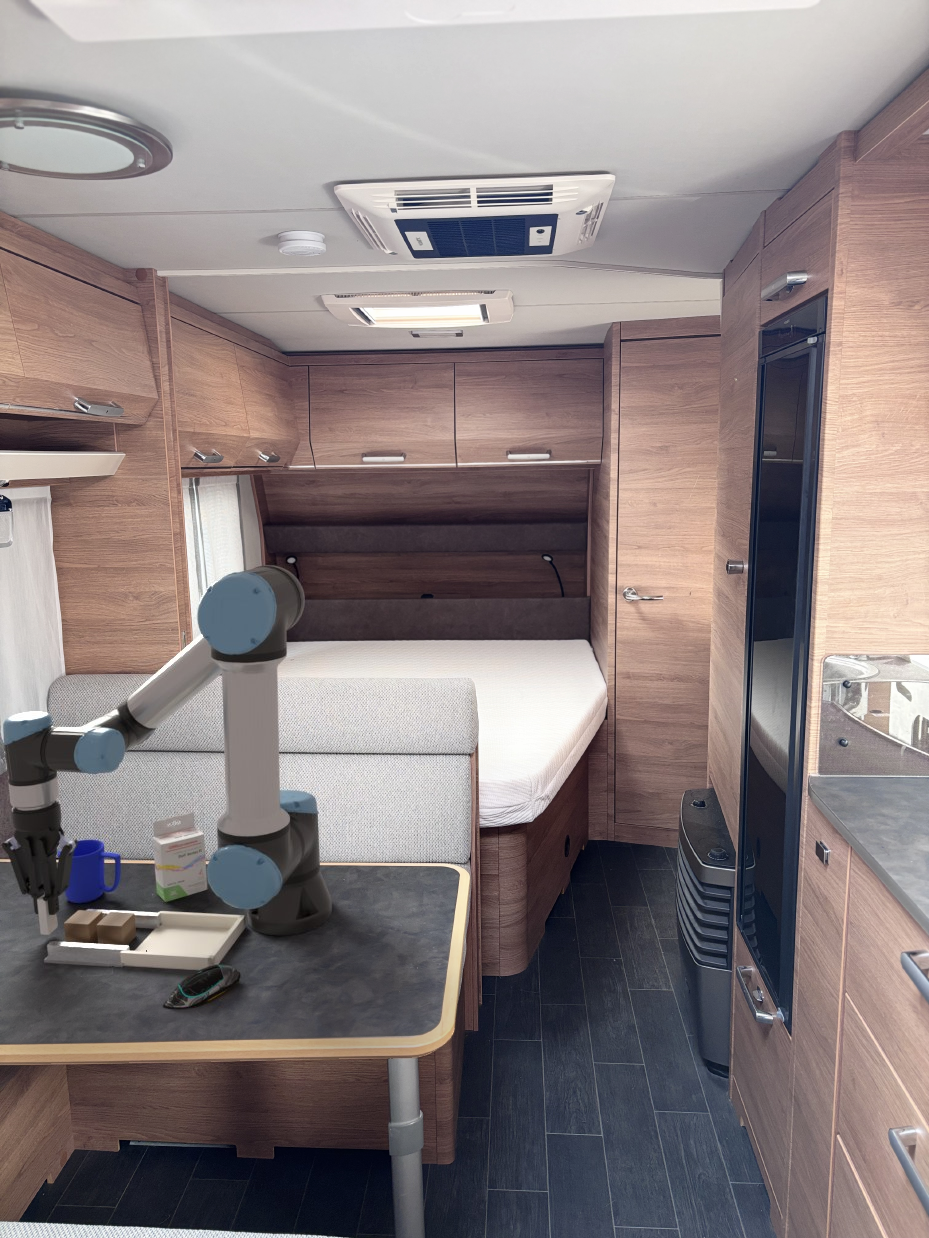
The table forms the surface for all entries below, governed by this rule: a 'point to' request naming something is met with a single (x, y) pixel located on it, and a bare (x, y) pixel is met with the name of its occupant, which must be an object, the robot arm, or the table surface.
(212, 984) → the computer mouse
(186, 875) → the ink box
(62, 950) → the slot rails
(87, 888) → the mug
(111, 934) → the tan cardboard cube
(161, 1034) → the table surface
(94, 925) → the brown shipping carton
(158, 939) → the tray
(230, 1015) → the table surface
